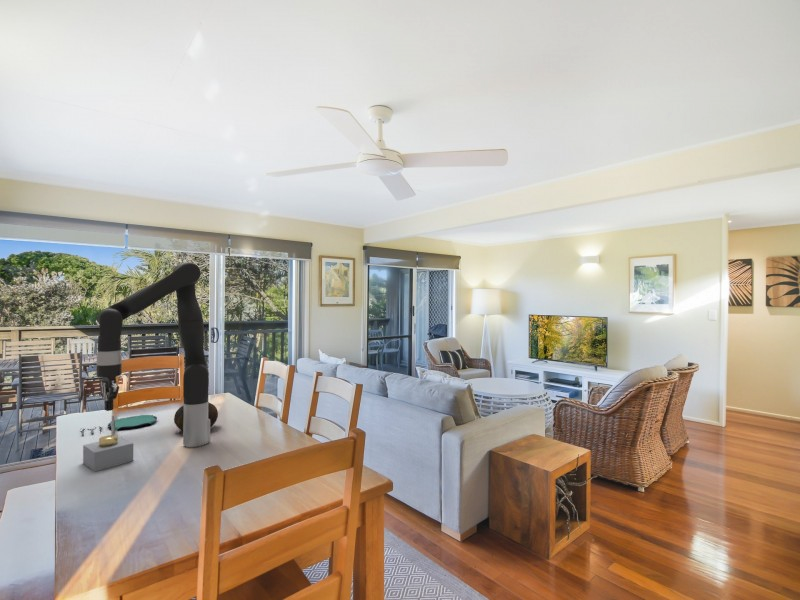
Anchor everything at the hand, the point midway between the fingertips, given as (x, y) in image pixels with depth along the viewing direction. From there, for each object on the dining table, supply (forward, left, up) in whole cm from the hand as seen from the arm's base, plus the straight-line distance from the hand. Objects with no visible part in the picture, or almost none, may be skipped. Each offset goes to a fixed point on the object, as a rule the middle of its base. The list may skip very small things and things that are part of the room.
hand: (108, 410), depth 149 cm
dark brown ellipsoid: (-38, -12, -19) cm, 44 cm away
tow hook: (-5, -19, -19) cm, 28 cm away
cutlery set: (-19, -46, -20) cm, 54 cm away
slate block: (0, 0, -19) cm, 19 cm away
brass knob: (0, 0, -19) cm, 19 cm away
